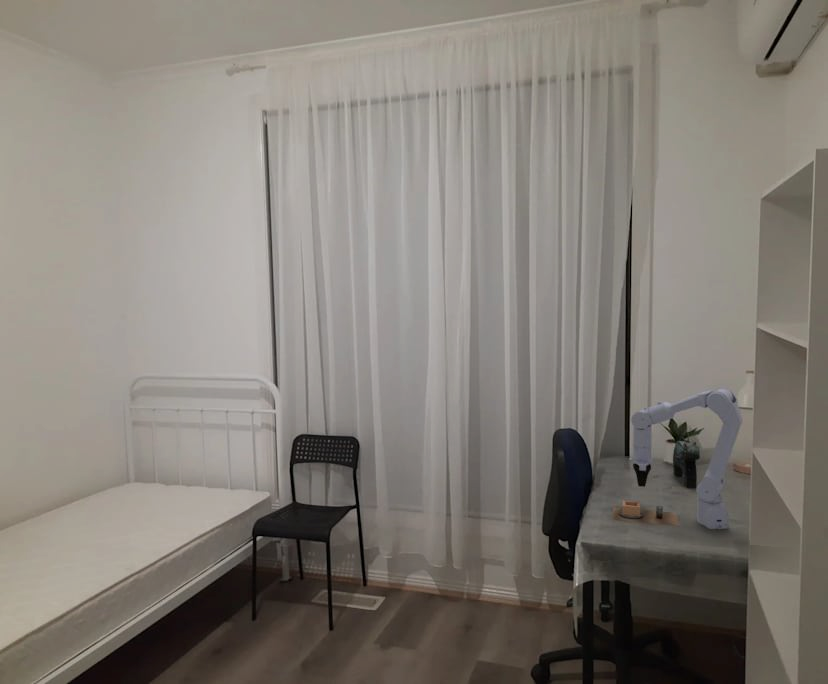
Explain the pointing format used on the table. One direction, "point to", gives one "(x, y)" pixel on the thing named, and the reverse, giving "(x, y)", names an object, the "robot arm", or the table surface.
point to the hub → (630, 515)
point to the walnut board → (650, 517)
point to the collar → (631, 508)
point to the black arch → (686, 461)
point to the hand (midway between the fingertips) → (641, 485)
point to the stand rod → (659, 512)
